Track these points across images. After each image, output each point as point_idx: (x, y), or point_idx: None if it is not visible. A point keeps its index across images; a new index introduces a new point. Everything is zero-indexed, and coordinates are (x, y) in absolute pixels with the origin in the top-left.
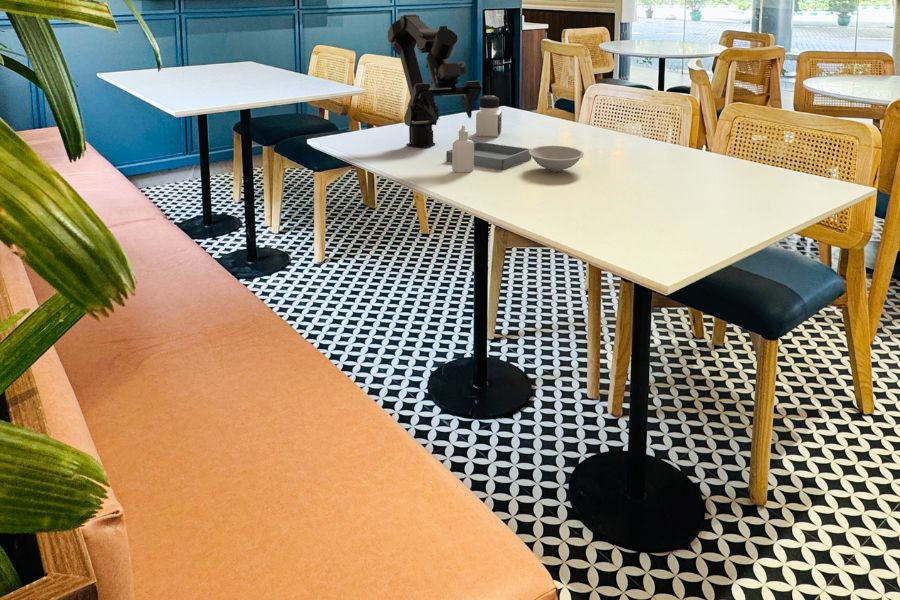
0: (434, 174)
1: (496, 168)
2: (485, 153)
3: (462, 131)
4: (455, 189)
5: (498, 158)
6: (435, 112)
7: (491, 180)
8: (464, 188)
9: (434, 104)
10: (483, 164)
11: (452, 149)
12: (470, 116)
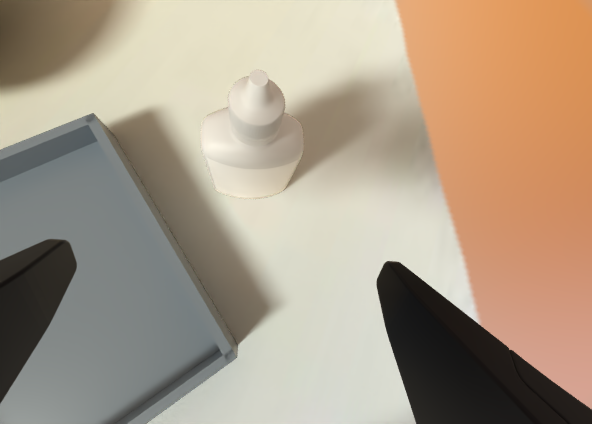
0: (348, 181)
1: (124, 153)
2: (10, 389)
3: (272, 83)
4: (352, 26)
5: (97, 136)
6: (435, 292)
7: (223, 48)
8: (328, 22)
9: (498, 374)
10: (149, 198)
11: (299, 161)
12: (64, 242)
